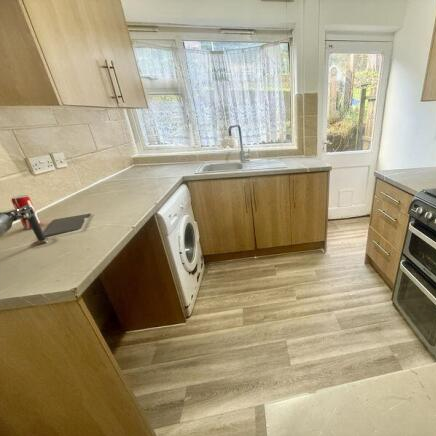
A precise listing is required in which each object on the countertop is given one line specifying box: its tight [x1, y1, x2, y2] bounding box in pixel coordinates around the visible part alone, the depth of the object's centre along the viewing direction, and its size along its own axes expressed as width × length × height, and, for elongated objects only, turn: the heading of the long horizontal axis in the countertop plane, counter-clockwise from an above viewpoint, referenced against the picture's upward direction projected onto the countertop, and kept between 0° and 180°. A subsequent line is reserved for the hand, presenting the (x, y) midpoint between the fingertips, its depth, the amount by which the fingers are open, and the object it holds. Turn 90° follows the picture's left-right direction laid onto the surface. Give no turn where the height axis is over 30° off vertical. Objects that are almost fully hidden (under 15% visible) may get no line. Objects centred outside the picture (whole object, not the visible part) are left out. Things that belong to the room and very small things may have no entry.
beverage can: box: [11, 194, 42, 230], centre depth 112 cm, size 6×6×15 cm
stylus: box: [28, 214, 48, 243], centre depth 97 cm, size 2×2×13 cm
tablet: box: [43, 213, 92, 238], centre depth 115 cm, size 15×22×1 cm
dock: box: [30, 237, 49, 247], centre depth 100 cm, size 7×7×1 cm
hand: (10, 210), depth 84 cm, fingers open, 8 cm apart
